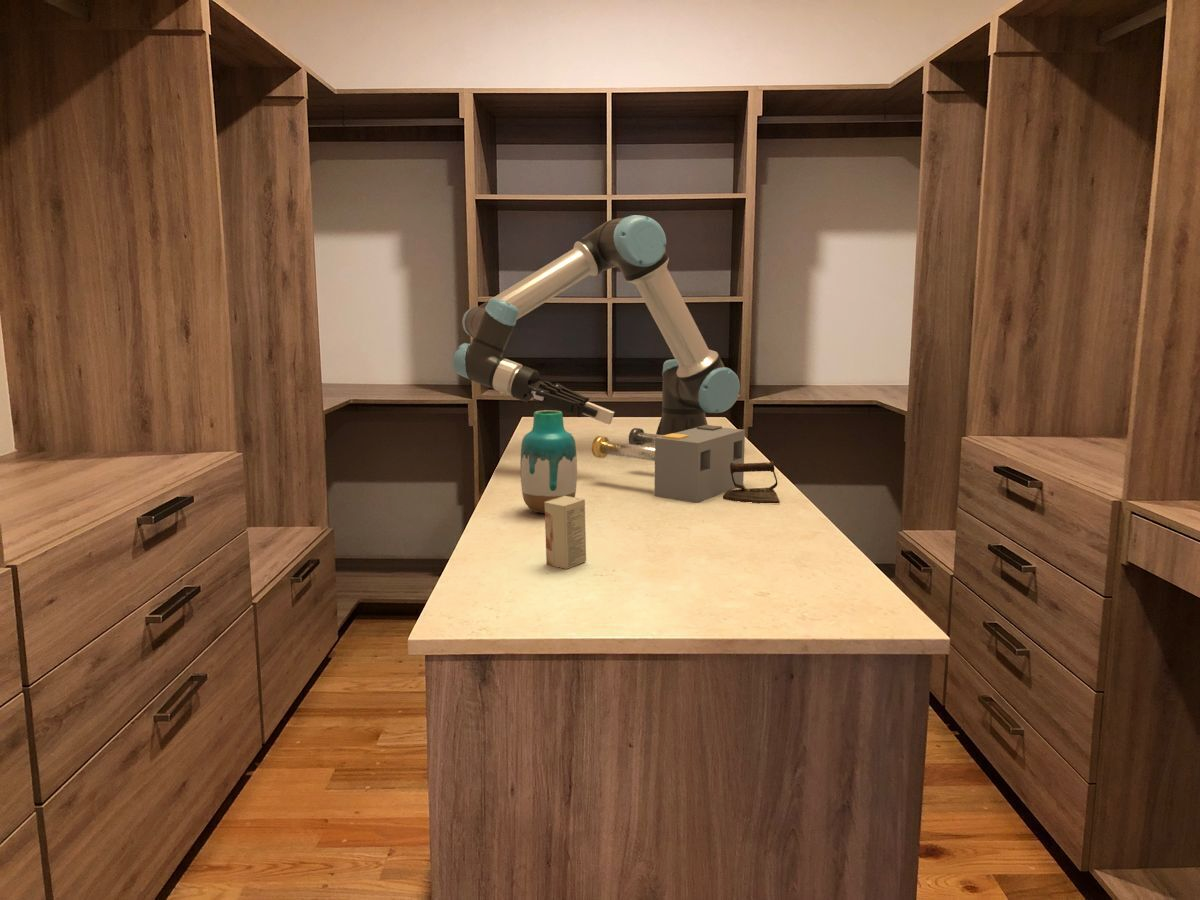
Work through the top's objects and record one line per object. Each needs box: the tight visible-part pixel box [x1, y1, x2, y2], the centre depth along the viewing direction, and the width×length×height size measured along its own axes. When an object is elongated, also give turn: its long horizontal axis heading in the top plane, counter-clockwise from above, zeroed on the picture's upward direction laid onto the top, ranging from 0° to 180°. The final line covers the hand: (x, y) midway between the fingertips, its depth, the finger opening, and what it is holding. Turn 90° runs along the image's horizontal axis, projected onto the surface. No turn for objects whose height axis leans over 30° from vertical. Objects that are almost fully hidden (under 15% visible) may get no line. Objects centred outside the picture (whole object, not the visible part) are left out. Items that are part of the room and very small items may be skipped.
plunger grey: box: [628, 427, 663, 447], centre depth 197 cm, size 5×20×5 cm, turn 54°
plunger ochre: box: [591, 435, 655, 462], centre depth 186 cm, size 5×20×5 cm, turn 54°
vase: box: [519, 409, 578, 514], centre depth 166 cm, size 11×11×19 cm
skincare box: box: [544, 496, 587, 570], centre depth 136 cm, size 5×4×10 cm
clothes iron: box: [722, 460, 780, 504], centre depth 177 cm, size 7×11×10 cm, turn 85°
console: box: [653, 424, 746, 504], centre depth 185 cm, size 20×10×12 cm, turn 144°
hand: (611, 418), depth 195 cm, fingers closed
